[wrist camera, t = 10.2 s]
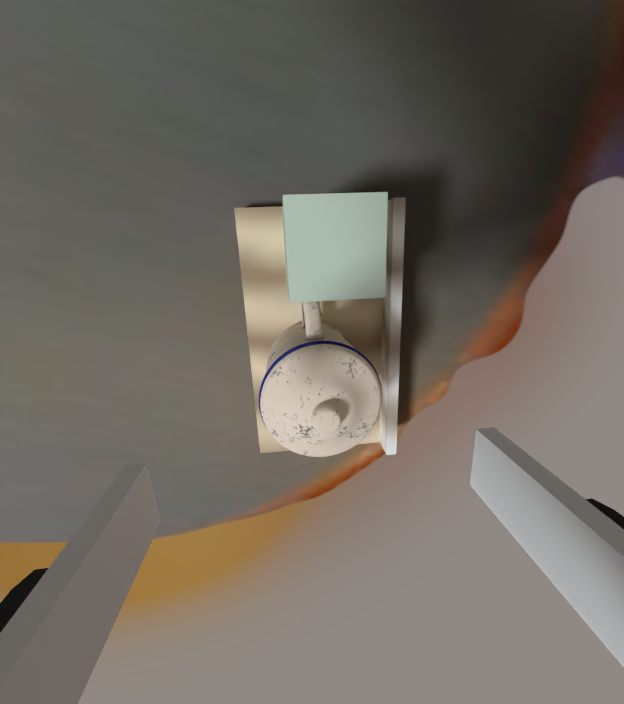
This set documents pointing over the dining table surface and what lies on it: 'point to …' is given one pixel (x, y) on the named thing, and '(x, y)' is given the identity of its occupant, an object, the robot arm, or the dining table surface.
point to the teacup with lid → (318, 389)
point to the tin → (335, 246)
